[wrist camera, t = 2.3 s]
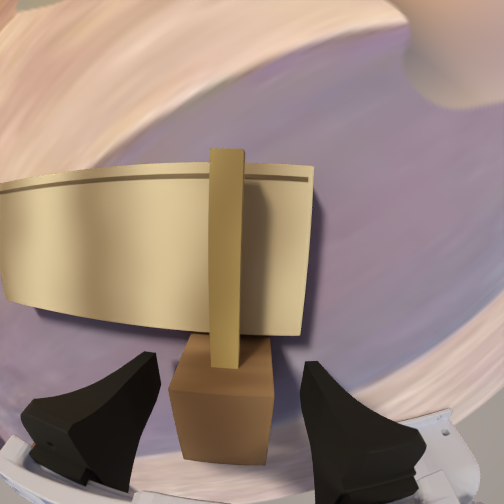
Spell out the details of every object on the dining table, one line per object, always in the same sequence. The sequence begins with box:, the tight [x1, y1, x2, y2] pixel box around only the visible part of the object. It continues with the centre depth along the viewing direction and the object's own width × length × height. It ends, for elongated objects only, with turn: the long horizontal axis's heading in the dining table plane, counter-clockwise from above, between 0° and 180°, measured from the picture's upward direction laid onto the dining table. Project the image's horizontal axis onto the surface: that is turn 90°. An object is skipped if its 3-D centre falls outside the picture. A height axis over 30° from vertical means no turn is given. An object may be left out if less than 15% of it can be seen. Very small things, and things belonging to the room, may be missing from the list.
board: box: [0, 162, 314, 336], centre depth 12 cm, size 17×7×2 cm, turn 88°
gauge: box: [168, 149, 275, 466], centre depth 10 cm, size 4×12×6 cm, turn 178°
